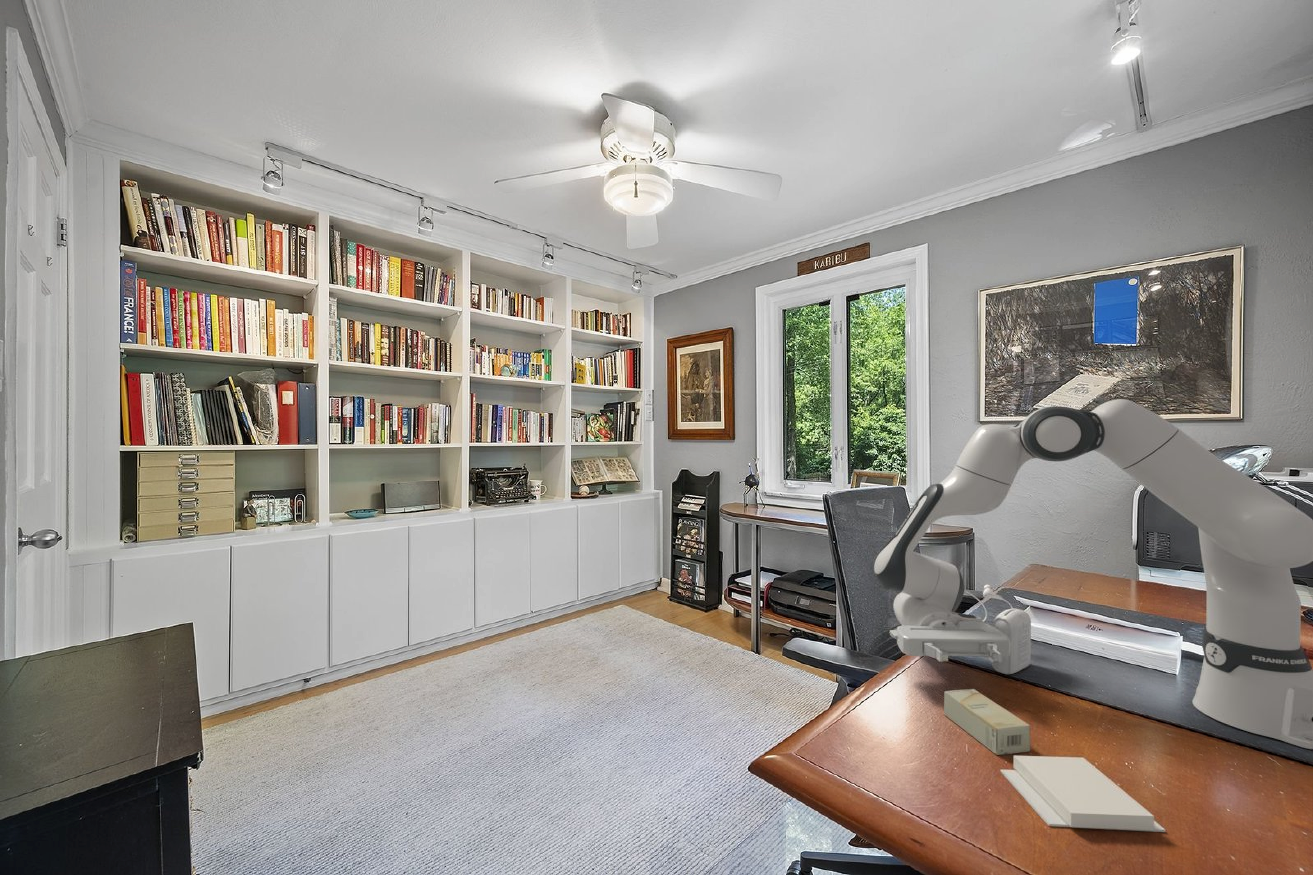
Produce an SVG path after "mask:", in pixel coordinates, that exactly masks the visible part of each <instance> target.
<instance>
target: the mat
mask: <svg viewBox="0 0 1313 875" xmlns="http://www.w3.org/2000/svg"><path fill="white" fill-rule="evenodd" d="M999 771H1000V773H1001V774H1002V775H1003V776H1004V777H1005V779H1006V780H1007V781H1008V782H1009V783H1010V785H1012V787H1013V788H1014V789H1015V790H1016V791H1017V792H1018V793H1019V794H1020V795H1021V796H1022V797H1023V799H1024V800H1025V802H1027V803H1028V805H1030V807H1031V808H1032V809H1033V810H1034V811H1035V812H1036V814H1038V816H1039V817H1040V818H1041V819H1042V820H1043V821H1044V822H1045V824H1046V825H1047V826H1048V827H1060V828H1063V827H1064V828H1071V827H1070V825H1069V824H1068V823H1067V822H1066V821H1065V820H1064V819H1063V818H1062V817H1061V816H1060V815H1059V814H1058V813H1057V812H1056V811H1055V810H1054V809H1053V808H1052V807H1051V806H1050V805H1049V804H1048V803H1047V802H1046V801H1045V800H1044V799H1043V798H1042V796H1041V795H1040V794H1039V793H1038V792H1037V791H1036V790H1035V789H1034V788H1033V787H1032V786H1031V785H1030V784H1029V783H1028V782H1027V781H1026V780H1025V779H1024V778H1023V777H1022V776H1021V775H1020V774H1019V773H1018V772H1017V771H1016V770H1015V769H1000V770H999ZM1074 828H1079V829H1082V828H1081V827H1074ZM1094 829H1096V830H1097V829H1098V830H1099V829H1101V830H1108V829H1107V828H1094ZM1113 830H1117V831H1137V832H1138V831H1139V832H1154V833H1157V832H1158V833H1159V832H1160V833H1166V829H1165V828H1164V827H1162V825H1161V824H1159V823H1158V822H1157V821H1155V820H1154V830H1134V829H1113Z"/></svg>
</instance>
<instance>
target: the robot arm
mask: <svg viewBox="0 0 1313 875" xmlns="http://www.w3.org/2000/svg"><path fill="white" fill-rule="evenodd" d="M1092 451H1094V452H1097V453H1098V454H1101V455H1103V456H1104V457H1106V458H1107V459H1109V460H1110V461H1111V462H1113V463H1114V464H1115V465H1116V466H1117V467H1118V468H1120V469H1121V470H1122V471H1123V472H1125V473H1126V474H1127V475H1129V476H1130V477H1131V478H1132V479H1133V480H1134V481H1136V482H1137V483H1139V484H1140V485H1141V486H1142V487H1143V488H1144V489H1146V490H1148V492H1150V493H1151V494H1152V495H1154V496H1155V497H1156V498H1157V499H1158V500H1160V501H1161V502H1163V503H1164V504H1166V506H1169V507H1170V508H1172V510H1174V511H1175V512H1177V513H1178V514H1179V515H1181V516H1182V517H1183V518H1185V519H1187V521H1188V522H1191V524H1193V525H1194V526H1195V527H1197V528H1198V538H1199V548H1200V554H1201V562H1202V566H1203V567H1202V568H1203V572H1204V577H1205V584H1206V585H1205V586H1206V607H1205V609H1206V614H1205V615H1206V618H1205V620H1206V621H1205V622H1206V623H1205V625H1206V626H1205V627H1204V628H1202V629H1203V630H1202V637H1201V638H1202V642H1201V643H1202V644H1201V645H1202V649H1203V650H1202V651H1203V655H1204V656H1203V660H1202V661H1203V662H1202V667H1201V671H1200V677H1199V682H1198V685H1197V687H1196V691H1195V694H1194V696H1193V699H1192V701H1191V702H1192V705H1193V706H1194V707H1195V708H1196V709H1197V710H1198V711H1200V712H1201V713H1202V714H1204V715H1206V716H1208V717H1210V718H1212V719H1214V720H1216V721H1218V722H1221V723H1223V724H1226V725H1227V726H1231V727H1234V728H1236V729H1240V730H1243V731H1245V732H1249V733H1251V734H1256V735H1260V736H1263V737H1268V738H1273V739H1275V740H1280V741H1283V742H1285V743H1288V744H1290V745H1294V746H1297V747H1300V748H1304V749H1307V750H1308V749H1309V750H1313V666H1312V664H1311V662H1310V660H1312V661H1313V647H1309V648H1305V647H1303V646H1302V645H1301V626H1302V625H1301V619H1302V618H1301V617H1302V615H1301V613H1302V612H1301V609H1302V605H1301V604H1302V603H1301V598H1300V596H1299V593H1298V592H1297V589H1296V587H1295V583H1294V580H1293V577H1292V574H1291V572H1292V571H1291V569H1293V568H1300V567H1303V566H1306V565H1309V564H1310V563H1312V562H1313V519H1312V518H1311V517H1310V516H1309V515H1308V514H1306V513H1305V512H1303V511H1302V510H1300V509H1299V508H1298V507H1296V506H1294V505H1293V504H1291V503H1290V502H1288V501H1287V500H1285V499H1284V498H1282V497H1281V496H1279V495H1277V494H1276V493H1275V492H1273V491H1272V490H1270V489H1269V488H1267V487H1265V486H1264V485H1262V484H1261V483H1259V482H1257V481H1256V480H1254V479H1253V478H1251V477H1250V476H1248V475H1247V474H1245V473H1243V472H1242V471H1240V470H1238V469H1237V468H1235V467H1233V466H1232V465H1230V464H1228V463H1226V461H1223V460H1222V459H1221V458H1219V457H1218V456H1216V454H1214V453H1212V452H1211V451H1209V450H1208V449H1207V448H1206V447H1204V446H1203V445H1201V444H1200V443H1198V442H1197V441H1195V440H1194V439H1193V438H1192V437H1190V436H1189V435H1187V434H1186V433H1185V432H1184V431H1183V430H1181V429H1179V428H1178V427H1177V426H1175V425H1173V423H1171V422H1170V421H1168V420H1166V419H1165V418H1163V417H1162V416H1160V415H1159V414H1157V413H1155V412H1153V411H1152V410H1150V409H1148V408H1146V407H1145V406H1142V405H1140V404H1138V403H1136V402H1134V401H1132V400H1129V399H1126V398H1125V399H1124V398H1117V399H1112V400H1109V401H1105V402H1104V403H1101V404H1099V405H1098V406H1096V407H1095V408H1094V409H1092V410H1091V411H1088V410H1083V409H1077V408H1073V407H1068V406H1060V405H1059V406H1056V405H1055V406H1053V405H1052V406H1045V407H1042V408H1039V409H1037V410H1034V411H1033V412H1031V413H1029V415H1027V417H1025V418H1024V419H1023V420H1021V421H1020V422H1018V423H1017V424H1016V425H1014V426H1007V425H1005V424H1000V423H999V424H998V423H991V424H990V423H989V424H983V425H981V426H979V428H977V429H976V430H975V432H974V433H973V434H972V435H971V437H970V439H969V440H968V441H967V443H966V444H965V447H963V449H962V451H961V453H960V455H959V457H958V459H957V461H956V463H955V466H954V468H953V469H952V471H951V472H950V473H949V474H948V476H946V477H945V478H944V479H943V480H942V481H940V482H939V483H934V484H933V483H932V484H931V485H929V486H928V487H927V488H925V490H924V492H922V493H921V495H920V497H919V498H918V499H917V500H916V501H915V503H914V505H913V506H912V508H911V509H910V511H909V512H908V514H907V515H906V517H905V518H904V520H903V521H902V522H901V524H900V526H899V527H898V528H897V530H896V531H895V533H894V535H893V536H892V537H891V539H890V540H889V541H888V542H887V543H886V544H885V546H883V548H882V549H881V550H880V551H879V553H878V554H877V556H876V558H875V560H874V564H873V573H874V576H875V577H876V579H877V581H878V583H879V584H880V585H881V587H883V589H885V590H889V591H892V592H897V593H898V594H897V595H896V596H895V598H894V600H893V607H892V608H893V611H894V616H896V619H897V621H898V623H900V625H898V626H897V627H896V628H894V629H890V630H889V632H888V633H889V635H890V636H891V638H893V639H895V640H896V644H897V646H898V648H899V650H900V651H901V652H902V654H905V655H907V656H913V657H914V656H917V657H918V656H920V657H921V656H923V657H925V656H926V657H930V658H932V659H935V660H937V661H938V662H940V663H942V662H944V663H945V662H946V663H947V662H949V658H948V657H974V658H975V657H978V658H979V657H980V658H981V657H982V658H983V657H984V658H987V659H988V661H990V662H991V663H992V662H993V663H1001V662H1002V657H1008V656H1009V655H1010V651H1011V644H1010V639H1009V638H1008V637H1007V636H1006V635H1005V634H1004V633H1002V632H1001V631H999V630H998V629H996V628H995V627H993V625H991V624H989V623H985V622H983V620H984V619H983V618H982V617H980V616H978V615H973V614H966V613H961V612H956V610H957V609H958V608H959V606H960V605H961V602H962V600H963V598H964V594H965V591H966V590H965V589H966V588H965V582H964V581H965V580H964V578H963V575H962V573H961V572H960V569H959V568H958V567H957V566H956V565H955V564H954V563H953V564H952V563H949V562H947V561H944V560H941V559H939V558H935V557H930V556H928V555H925V554H922V553H919V552H916V551H914V550H915V548H916V547H917V546H918V544H919V543H920V542H921V540H922V538H923V537H924V536H925V534H926V533H927V531H928V529H929V528H930V527H931V526H932V524H934V523H935V521H938V520H940V519H942V518H946V517H951V516H975V515H983V514H986V513H987V514H988V513H989V512H992V511H994V510H996V509H997V508H999V507H1000V506H1001V505H1002V504H1003V502H1004V500H1005V499H1006V497H1007V496H1008V494H1009V492H1010V491H1011V490H1010V489H1011V487H1012V485H1013V483H1014V481H1015V478H1016V476H1017V474H1018V473H1019V470H1020V469H1021V468H1022V466H1023V465H1024V464H1025V463H1026V462H1028V461H1031V460H1033V459H1037V460H1038V459H1039V460H1042V461H1047V462H1065V461H1070V460H1072V459H1075V458H1079V457H1080V456H1082V455H1085V454H1088V453H1090V452H1092ZM964 590H965V591H964Z"/></svg>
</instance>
